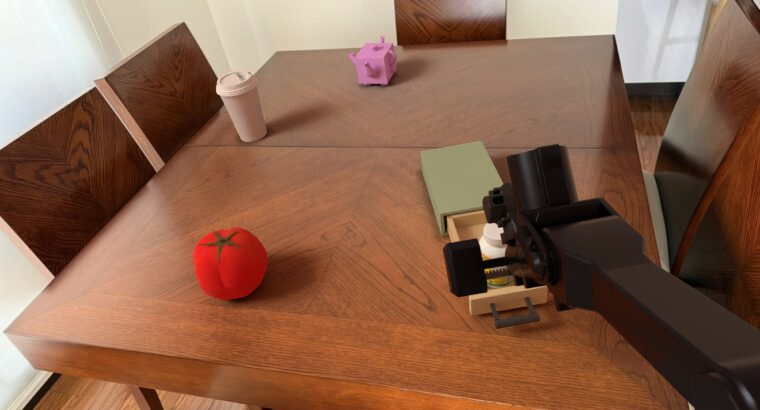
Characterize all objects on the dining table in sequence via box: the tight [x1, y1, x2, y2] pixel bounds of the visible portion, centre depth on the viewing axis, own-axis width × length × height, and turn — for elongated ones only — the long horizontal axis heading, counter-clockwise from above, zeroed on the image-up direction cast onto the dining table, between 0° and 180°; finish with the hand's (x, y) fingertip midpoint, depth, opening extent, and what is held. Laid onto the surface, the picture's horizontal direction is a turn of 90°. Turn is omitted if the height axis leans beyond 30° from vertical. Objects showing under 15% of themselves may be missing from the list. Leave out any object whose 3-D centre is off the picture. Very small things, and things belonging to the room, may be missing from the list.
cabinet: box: [419, 140, 504, 237], centre depth 92 cm, size 19×12×5 cm, turn 6°
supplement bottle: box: [479, 223, 514, 289], centre depth 73 cm, size 5×5×10 cm
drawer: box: [447, 209, 549, 330], centre depth 76 cm, size 22×11×4 cm, turn 6°
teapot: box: [347, 35, 398, 87], centre depth 133 cm, size 18×13×10 cm
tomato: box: [192, 226, 269, 301], centre depth 80 cm, size 12×12×11 cm
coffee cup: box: [215, 69, 268, 143], centre depth 118 cm, size 10×10×15 cm
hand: (510, 257), depth 65 cm, fingers open, 9 cm apart
